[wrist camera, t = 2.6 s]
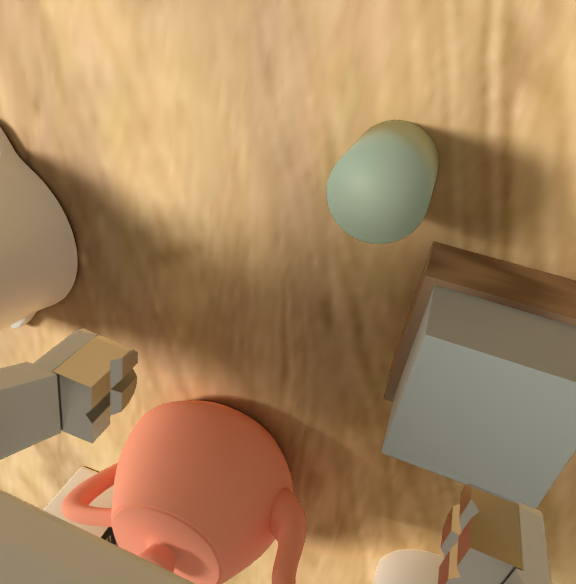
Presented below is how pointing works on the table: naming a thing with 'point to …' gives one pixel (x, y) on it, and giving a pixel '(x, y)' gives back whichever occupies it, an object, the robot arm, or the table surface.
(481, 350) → the top block
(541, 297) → the bottom block
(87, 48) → the table surface
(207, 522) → the teapot
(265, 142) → the table surface
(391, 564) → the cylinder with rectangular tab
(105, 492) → the white bottle
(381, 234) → the pale green cylinder
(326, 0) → the table surface
